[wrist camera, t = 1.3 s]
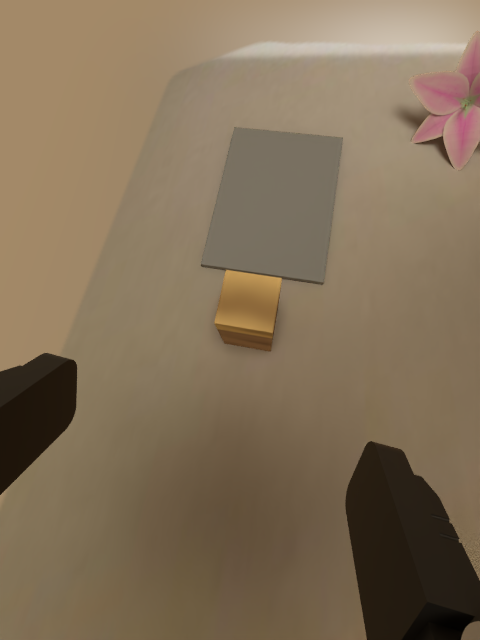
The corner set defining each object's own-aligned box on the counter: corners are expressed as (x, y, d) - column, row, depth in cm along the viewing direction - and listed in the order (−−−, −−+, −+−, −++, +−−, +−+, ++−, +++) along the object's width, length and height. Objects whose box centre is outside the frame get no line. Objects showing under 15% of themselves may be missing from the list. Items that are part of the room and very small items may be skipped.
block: (233, 300, 37) (226, 269, 29) (277, 307, 36) (281, 278, 29) (224, 343, 36) (214, 322, 28) (270, 351, 35) (272, 332, 27)
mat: (234, 131, 44) (234, 127, 43) (341, 141, 42) (342, 137, 42) (201, 266, 38) (200, 264, 38) (322, 284, 37) (323, 282, 36)
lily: (385, 111, 44) (397, 74, 35) (478, 48, 41) (519, -12, 31) (427, 190, 45) (450, 173, 36) (523, 135, 41) (576, 100, 32)
